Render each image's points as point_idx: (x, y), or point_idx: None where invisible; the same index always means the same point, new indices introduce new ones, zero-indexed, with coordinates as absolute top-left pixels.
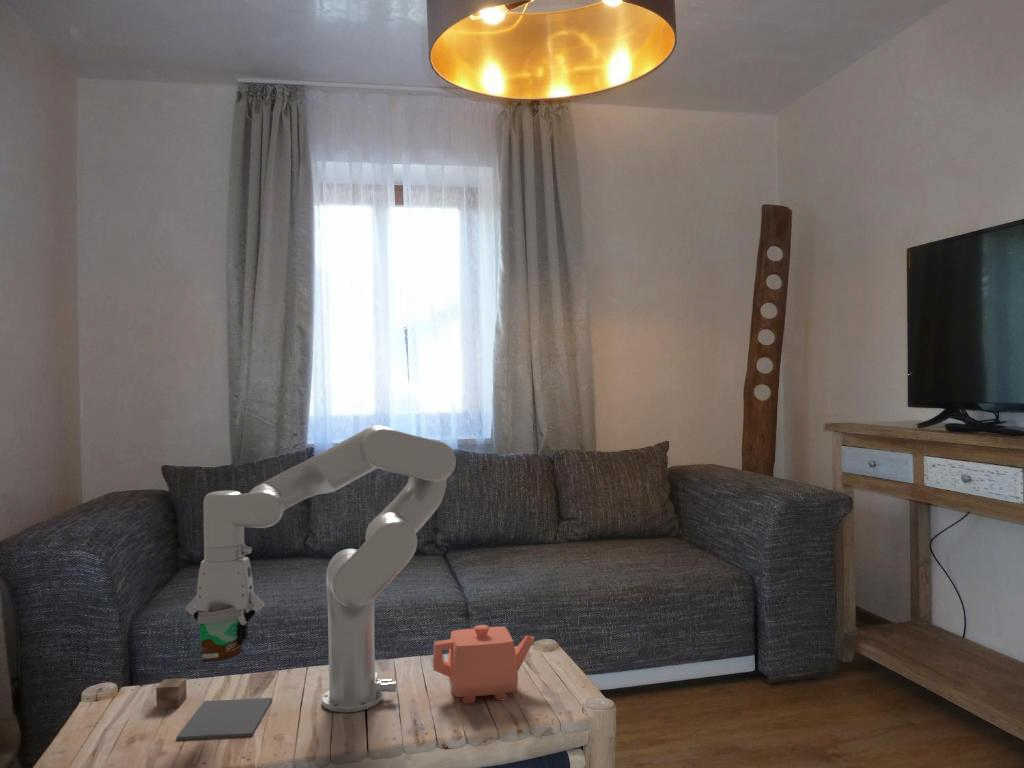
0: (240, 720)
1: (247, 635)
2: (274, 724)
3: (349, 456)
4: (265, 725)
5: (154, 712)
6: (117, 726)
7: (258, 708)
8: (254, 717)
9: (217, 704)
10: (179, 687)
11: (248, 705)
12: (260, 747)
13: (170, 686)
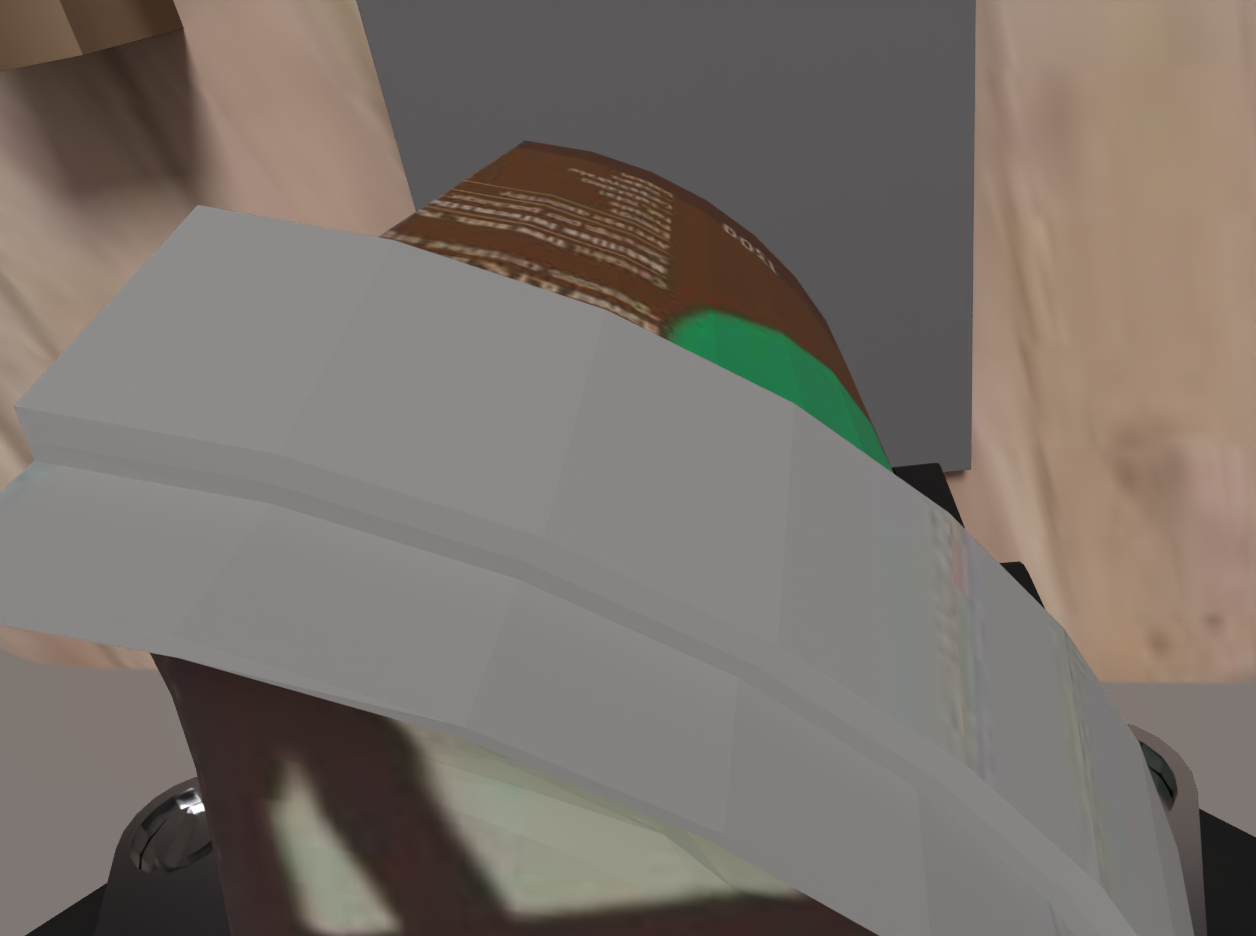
0: (824, 300)
1: (1024, 580)
2: (1085, 297)
3: None
4: (1019, 314)
5: (59, 125)
6: (3, 346)
7: (904, 83)
8: (918, 251)
9: (500, 10)
10: (81, 26)
11: (790, 18)
12: (1052, 576)
13: (3, 56)
